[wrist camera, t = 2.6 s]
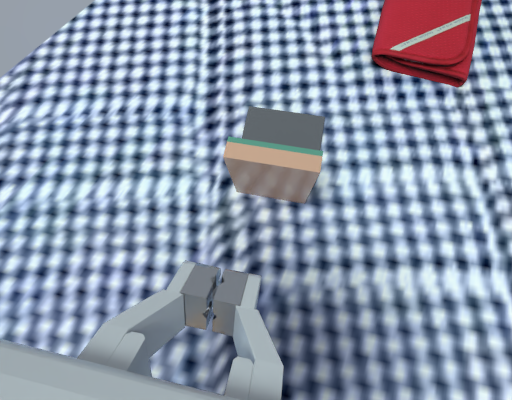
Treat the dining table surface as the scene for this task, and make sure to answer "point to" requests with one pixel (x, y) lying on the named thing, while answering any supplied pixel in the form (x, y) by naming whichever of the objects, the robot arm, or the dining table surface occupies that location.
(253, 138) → the mat
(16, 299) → the dining table surface
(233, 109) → the dining table surface
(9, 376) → the robot arm
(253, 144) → the tile
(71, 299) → the dining table surface
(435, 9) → the dish drying mat
